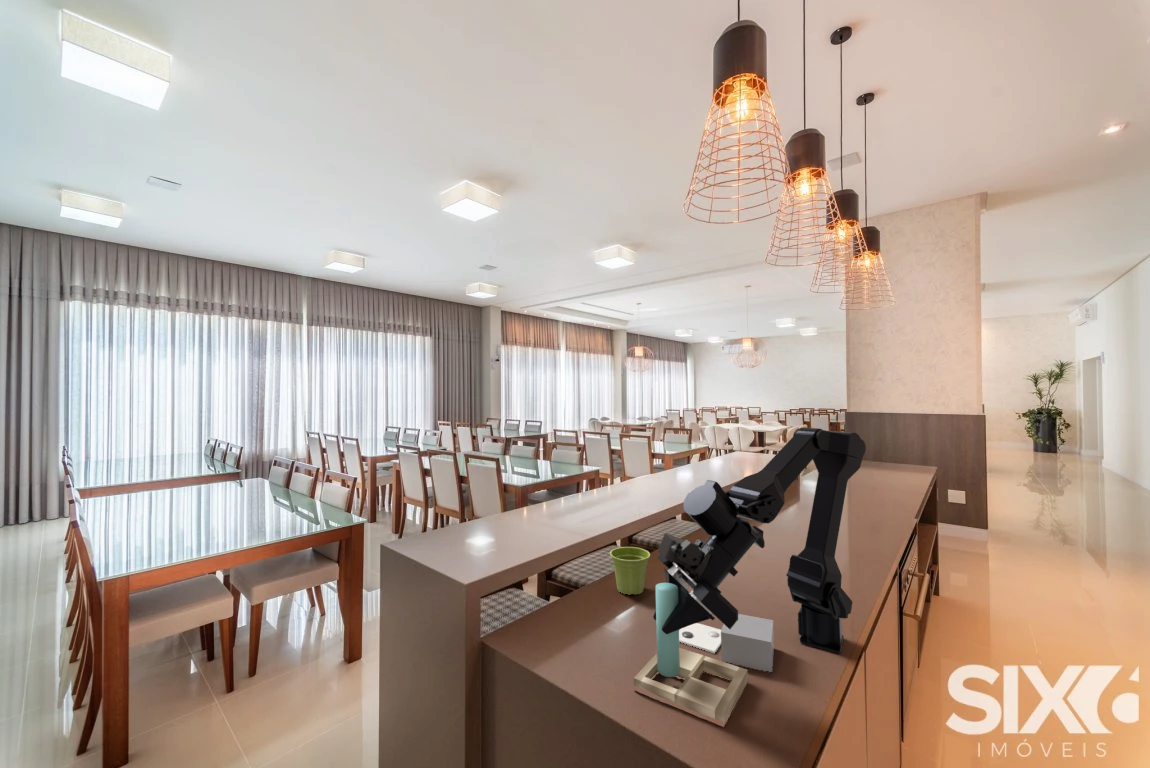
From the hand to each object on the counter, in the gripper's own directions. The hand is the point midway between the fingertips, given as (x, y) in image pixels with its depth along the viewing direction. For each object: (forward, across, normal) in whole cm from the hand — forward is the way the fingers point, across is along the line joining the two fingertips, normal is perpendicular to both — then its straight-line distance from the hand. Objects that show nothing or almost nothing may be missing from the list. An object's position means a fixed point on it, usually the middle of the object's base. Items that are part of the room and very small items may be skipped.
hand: (659, 625), depth 72 cm
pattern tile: (-2, -13, +16) cm, 20 cm away
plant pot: (+3, -35, +11) cm, 37 cm away
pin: (+4, 0, +6) cm, 7 cm away
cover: (-6, -6, +20) cm, 21 cm away
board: (+3, +1, +10) cm, 11 cm away
